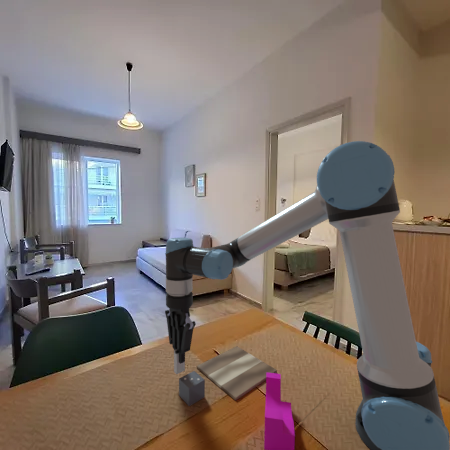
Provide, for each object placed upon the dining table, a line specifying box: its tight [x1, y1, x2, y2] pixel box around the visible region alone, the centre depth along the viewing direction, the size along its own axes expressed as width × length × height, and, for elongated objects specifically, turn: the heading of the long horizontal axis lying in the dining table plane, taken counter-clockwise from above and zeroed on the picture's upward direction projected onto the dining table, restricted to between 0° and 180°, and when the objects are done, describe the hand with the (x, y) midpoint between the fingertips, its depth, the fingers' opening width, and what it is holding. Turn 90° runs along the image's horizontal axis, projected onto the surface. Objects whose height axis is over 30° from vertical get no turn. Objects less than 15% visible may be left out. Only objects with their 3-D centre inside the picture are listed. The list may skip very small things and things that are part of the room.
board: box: [196, 345, 278, 401], centre depth 80 cm, size 18×18×1 cm
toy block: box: [263, 372, 296, 450], centre depth 61 cm, size 15×6×8 cm, turn 169°
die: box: [178, 370, 206, 407], centre depth 69 cm, size 5×5×5 cm
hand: (179, 371), depth 74 cm, fingers closed
